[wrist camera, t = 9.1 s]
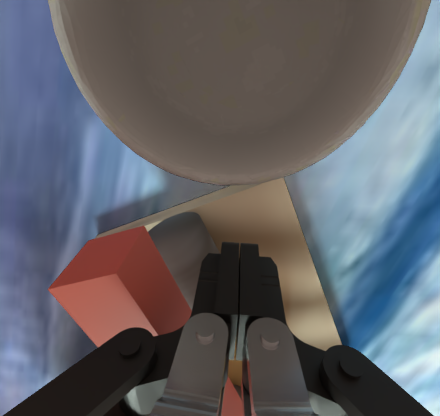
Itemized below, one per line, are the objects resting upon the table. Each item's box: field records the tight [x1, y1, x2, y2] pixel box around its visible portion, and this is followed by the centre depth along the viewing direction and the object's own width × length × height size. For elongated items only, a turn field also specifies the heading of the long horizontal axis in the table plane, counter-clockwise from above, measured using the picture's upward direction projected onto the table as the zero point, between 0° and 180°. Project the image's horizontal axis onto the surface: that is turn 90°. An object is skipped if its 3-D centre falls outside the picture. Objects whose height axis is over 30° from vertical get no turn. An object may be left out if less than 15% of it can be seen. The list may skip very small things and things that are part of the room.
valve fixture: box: [95, 178, 342, 400], centre depth 20 cm, size 21×15×9 cm
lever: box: [48, 226, 243, 416], centre depth 12 cm, size 16×3×2 cm, turn 19°
